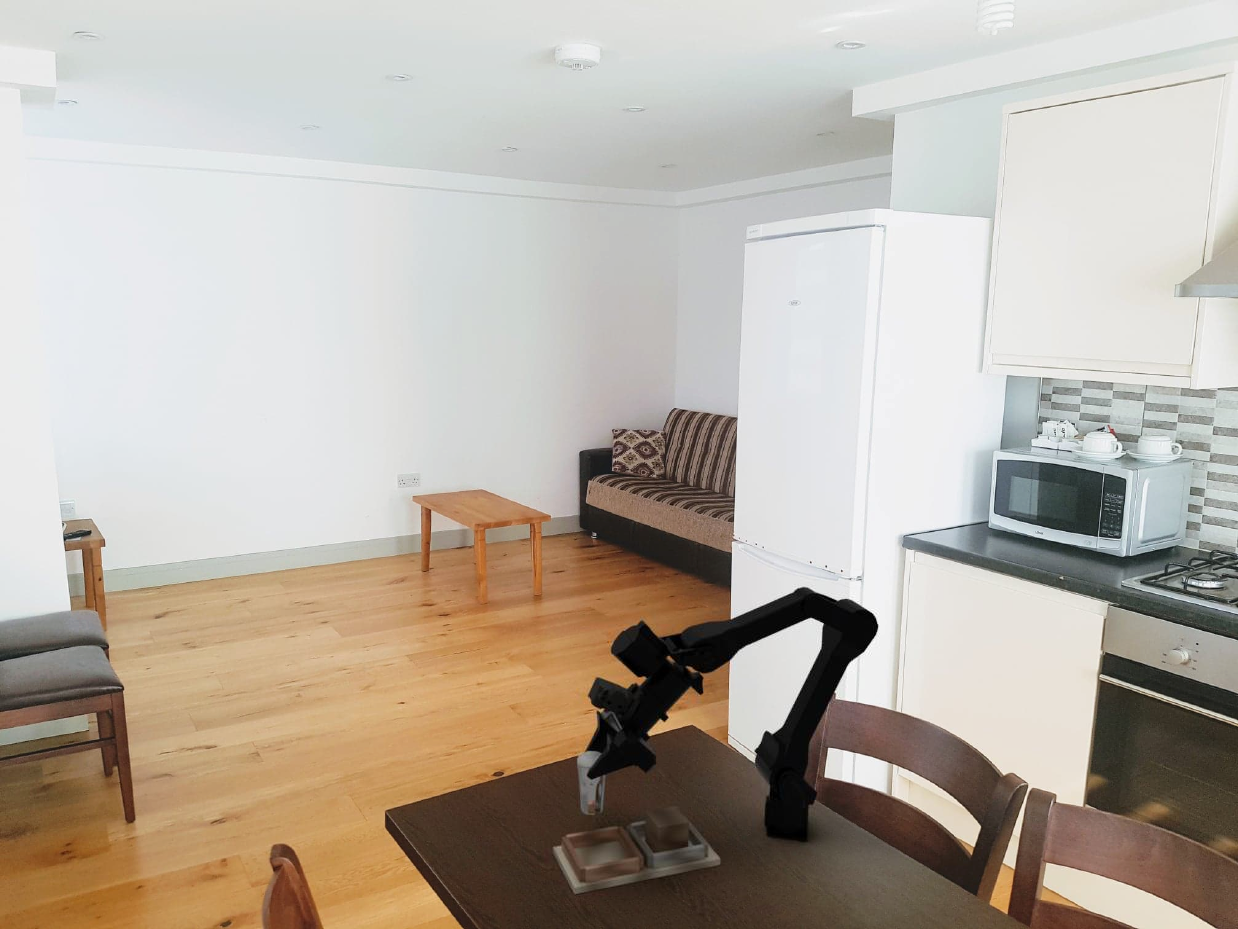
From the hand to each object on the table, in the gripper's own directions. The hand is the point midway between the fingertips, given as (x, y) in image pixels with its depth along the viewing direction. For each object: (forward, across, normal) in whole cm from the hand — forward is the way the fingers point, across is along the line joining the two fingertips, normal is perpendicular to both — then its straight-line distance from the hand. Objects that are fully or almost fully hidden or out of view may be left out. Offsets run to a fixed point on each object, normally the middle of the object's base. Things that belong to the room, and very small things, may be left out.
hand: (585, 770), depth 141 cm
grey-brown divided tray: (+4, +4, +14) cm, 15 cm away
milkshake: (+4, 0, +6) cm, 7 cm away
